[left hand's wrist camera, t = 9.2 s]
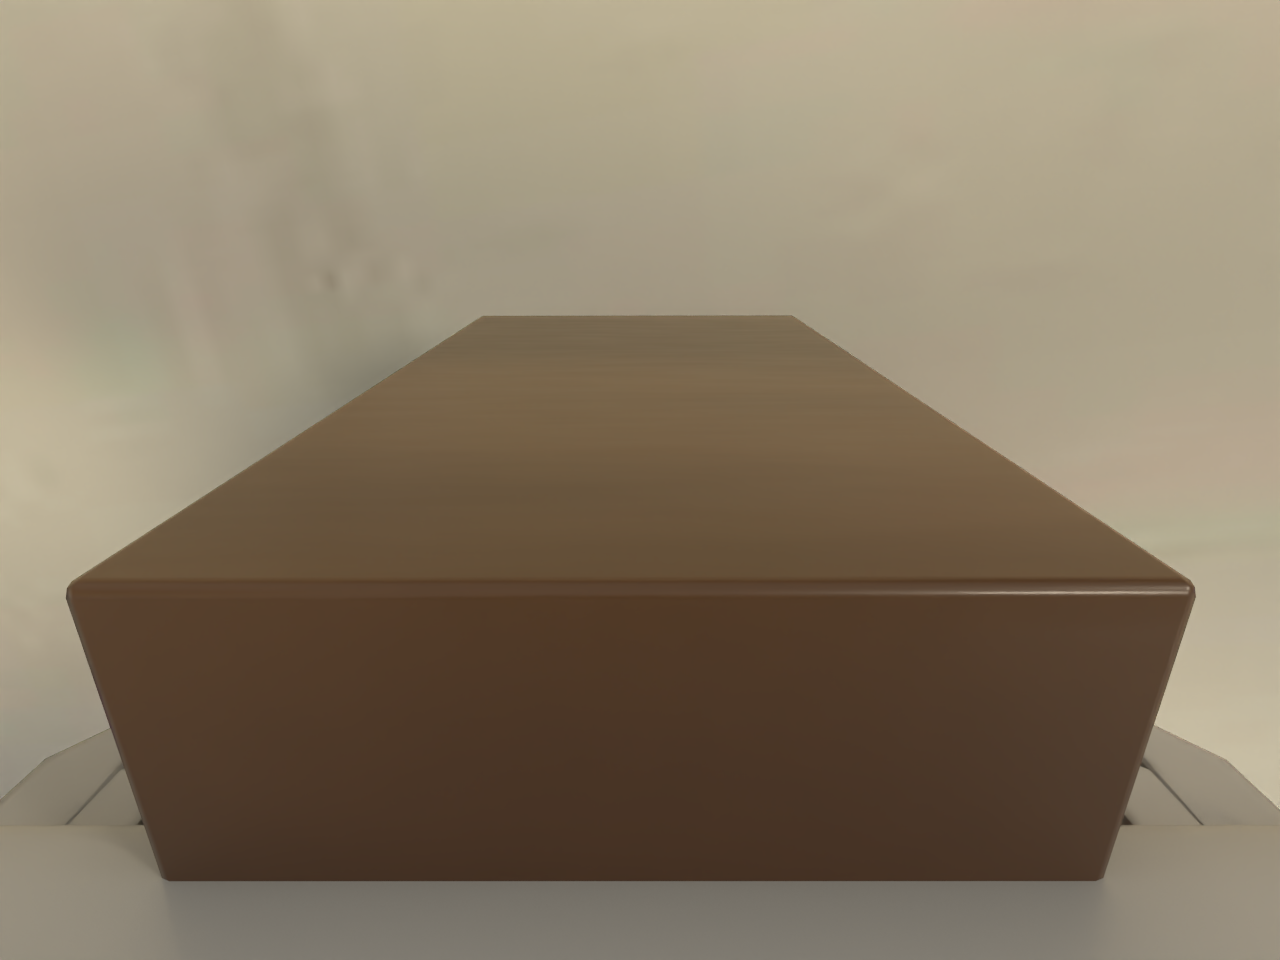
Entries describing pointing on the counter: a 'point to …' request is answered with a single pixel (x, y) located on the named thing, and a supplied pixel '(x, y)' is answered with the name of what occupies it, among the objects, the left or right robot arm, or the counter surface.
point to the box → (632, 630)
